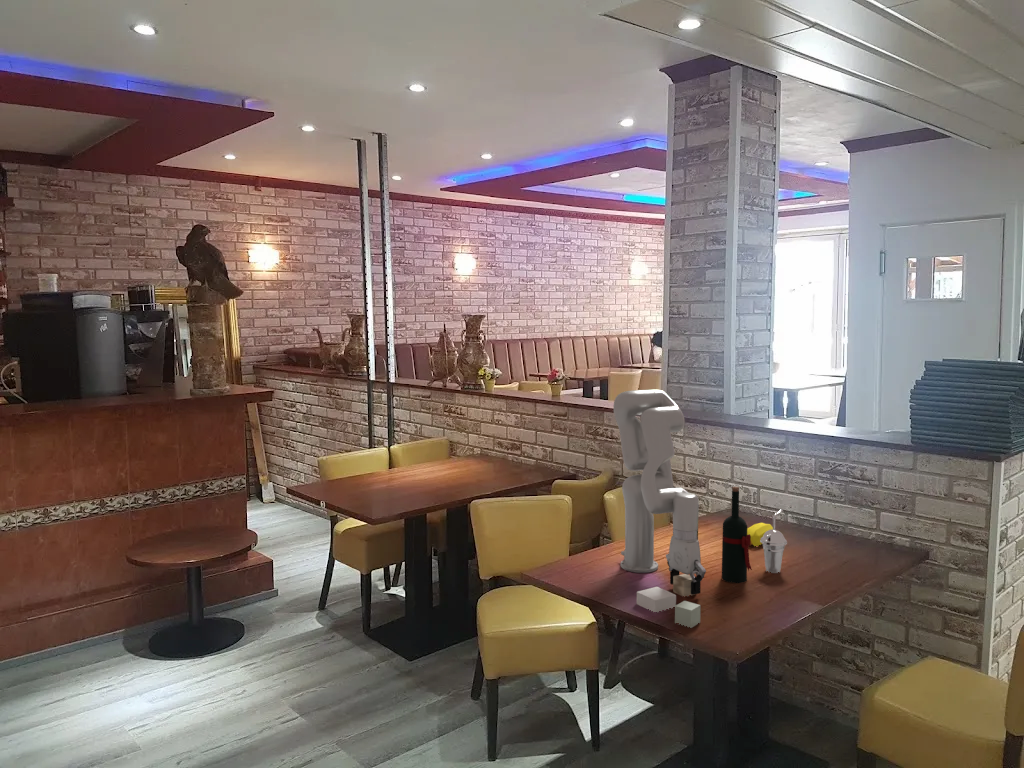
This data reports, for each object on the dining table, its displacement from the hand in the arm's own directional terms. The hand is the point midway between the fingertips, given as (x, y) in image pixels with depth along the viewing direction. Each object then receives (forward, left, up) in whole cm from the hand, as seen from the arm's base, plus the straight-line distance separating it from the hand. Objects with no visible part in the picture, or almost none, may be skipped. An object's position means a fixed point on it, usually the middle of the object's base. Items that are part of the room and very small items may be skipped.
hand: (684, 588), depth 227 cm
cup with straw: (-2, +39, -2) cm, 39 cm away
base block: (+4, -14, -2) cm, 15 cm away
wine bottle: (-1, +22, -2) cm, 22 cm away
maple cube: (0, 0, -2) cm, 2 cm away
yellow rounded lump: (-28, +58, -2) cm, 64 cm away
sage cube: (+18, -14, -2) cm, 23 cm away
